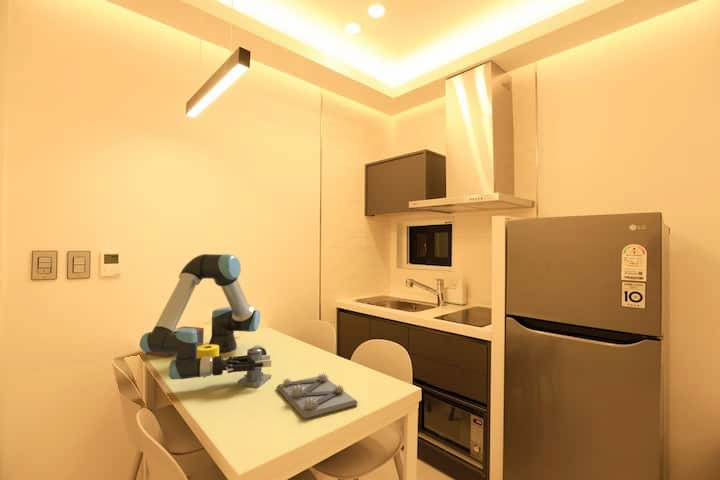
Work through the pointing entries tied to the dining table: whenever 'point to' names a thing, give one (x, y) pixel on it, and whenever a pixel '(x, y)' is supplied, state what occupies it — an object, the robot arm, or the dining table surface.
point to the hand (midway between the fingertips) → (270, 360)
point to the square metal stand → (254, 383)
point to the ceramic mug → (262, 349)
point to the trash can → (253, 356)
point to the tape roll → (207, 351)
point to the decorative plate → (315, 396)
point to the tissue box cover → (199, 333)
